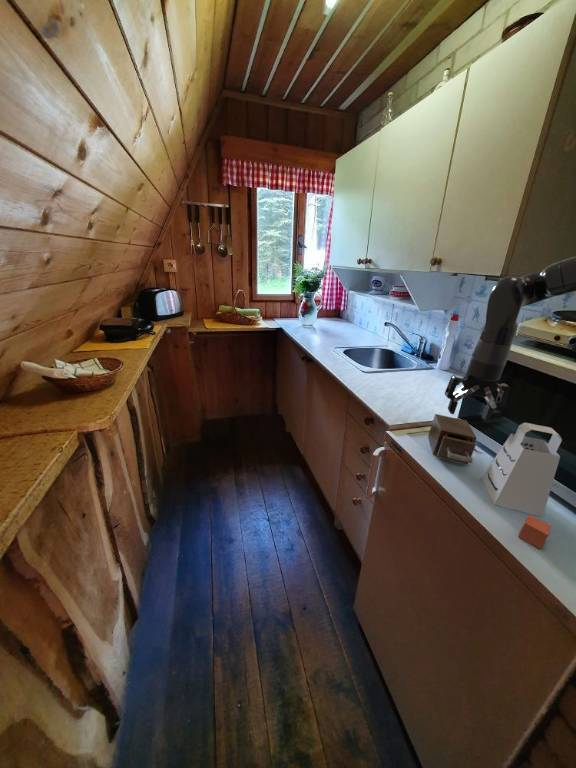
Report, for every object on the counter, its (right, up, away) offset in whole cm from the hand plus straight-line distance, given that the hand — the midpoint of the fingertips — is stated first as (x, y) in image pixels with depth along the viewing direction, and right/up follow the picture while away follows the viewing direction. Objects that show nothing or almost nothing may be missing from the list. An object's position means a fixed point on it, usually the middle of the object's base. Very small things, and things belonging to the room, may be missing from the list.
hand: (467, 415), depth 84 cm
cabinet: (+1, -12, +14) cm, 18 cm away
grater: (+8, -20, -5) cm, 22 cm away
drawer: (0, -13, +9) cm, 16 cm away
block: (+3, -25, -17) cm, 30 cm away
